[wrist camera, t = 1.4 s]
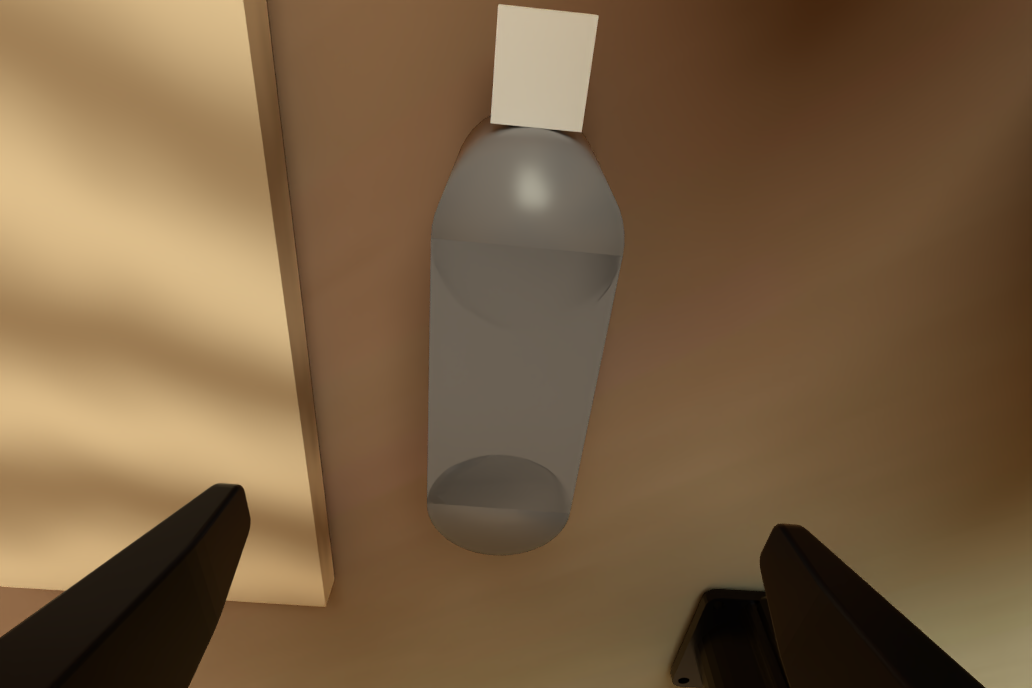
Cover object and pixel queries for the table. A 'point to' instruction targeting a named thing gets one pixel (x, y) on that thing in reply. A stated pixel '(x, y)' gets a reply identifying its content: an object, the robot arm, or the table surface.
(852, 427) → the table surface
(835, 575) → the robot arm
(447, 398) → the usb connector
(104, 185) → the birch board
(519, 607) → the table surface
